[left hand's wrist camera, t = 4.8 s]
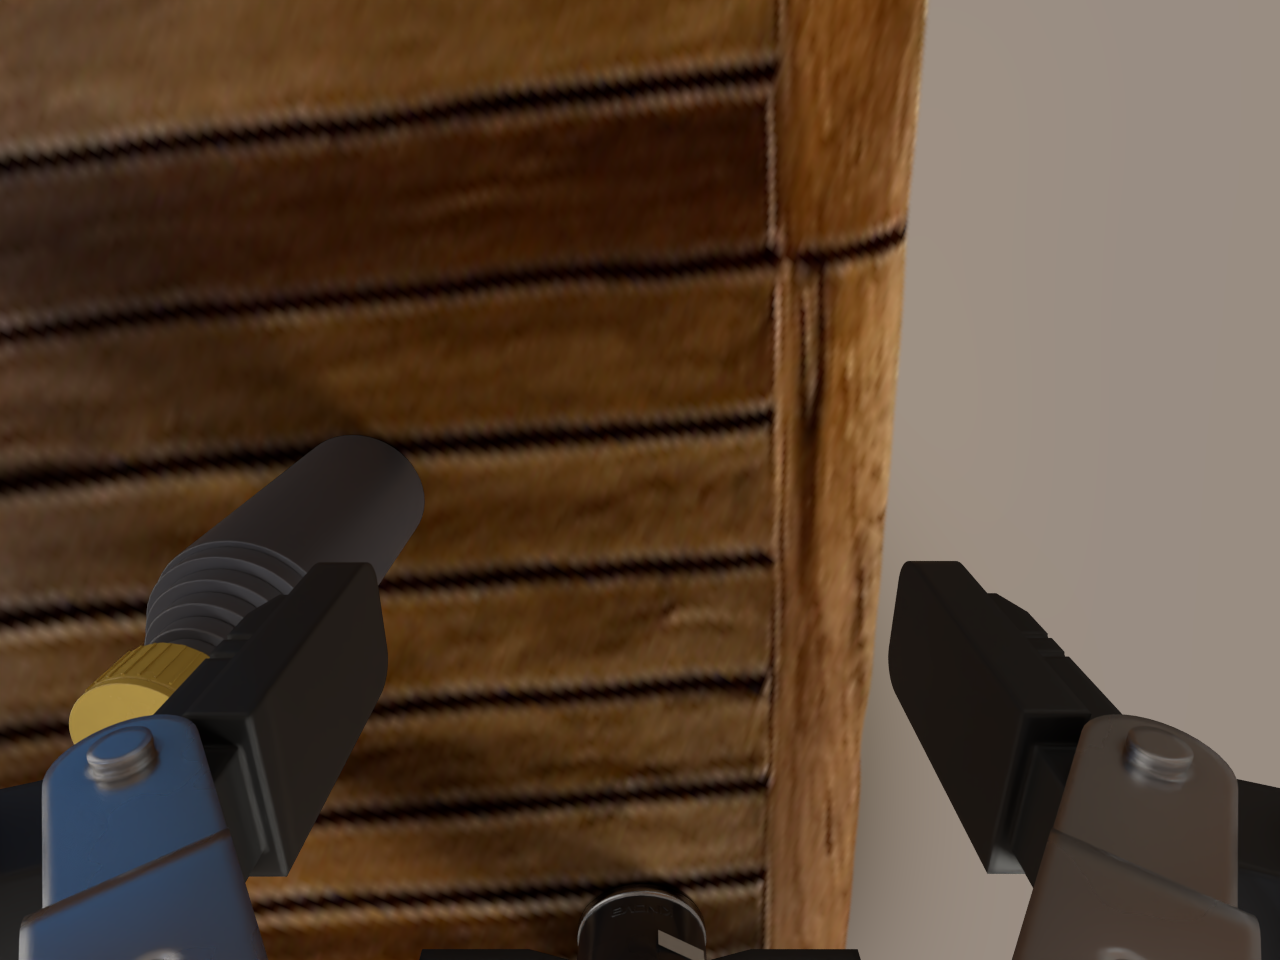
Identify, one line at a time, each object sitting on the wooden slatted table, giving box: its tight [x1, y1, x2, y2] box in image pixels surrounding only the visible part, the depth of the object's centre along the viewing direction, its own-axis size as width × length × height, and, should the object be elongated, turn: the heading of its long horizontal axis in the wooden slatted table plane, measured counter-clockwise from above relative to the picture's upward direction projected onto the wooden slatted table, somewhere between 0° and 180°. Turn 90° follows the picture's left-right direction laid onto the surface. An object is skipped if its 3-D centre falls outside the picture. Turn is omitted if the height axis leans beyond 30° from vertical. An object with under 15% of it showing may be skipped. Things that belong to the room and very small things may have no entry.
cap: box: [69, 642, 210, 745], centre depth 24 cm, size 4×4×2 cm
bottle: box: [145, 435, 424, 657], centre depth 33 cm, size 7×7×20 cm
